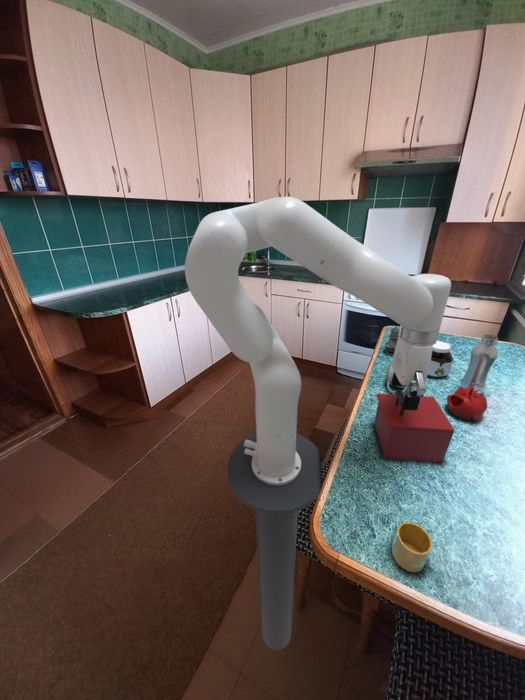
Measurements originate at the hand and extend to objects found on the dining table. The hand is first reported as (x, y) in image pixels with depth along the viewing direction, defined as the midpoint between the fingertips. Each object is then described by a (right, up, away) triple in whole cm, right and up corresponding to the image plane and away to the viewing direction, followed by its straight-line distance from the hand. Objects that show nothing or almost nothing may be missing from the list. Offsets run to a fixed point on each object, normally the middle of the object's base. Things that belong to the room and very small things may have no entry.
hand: (403, 396), depth 71 cm
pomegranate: (+26, -7, +16) cm, 31 cm away
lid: (+3, -4, +2) cm, 5 cm away
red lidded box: (+4, -13, +6) cm, 15 cm away
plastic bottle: (+34, -2, +25) cm, 43 cm away
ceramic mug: (+12, -2, +28) cm, 31 cm away
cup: (-8, -26, -18) cm, 33 cm away
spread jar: (+29, +3, +37) cm, 47 cm away
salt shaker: (+19, +10, +50) cm, 55 cm away
